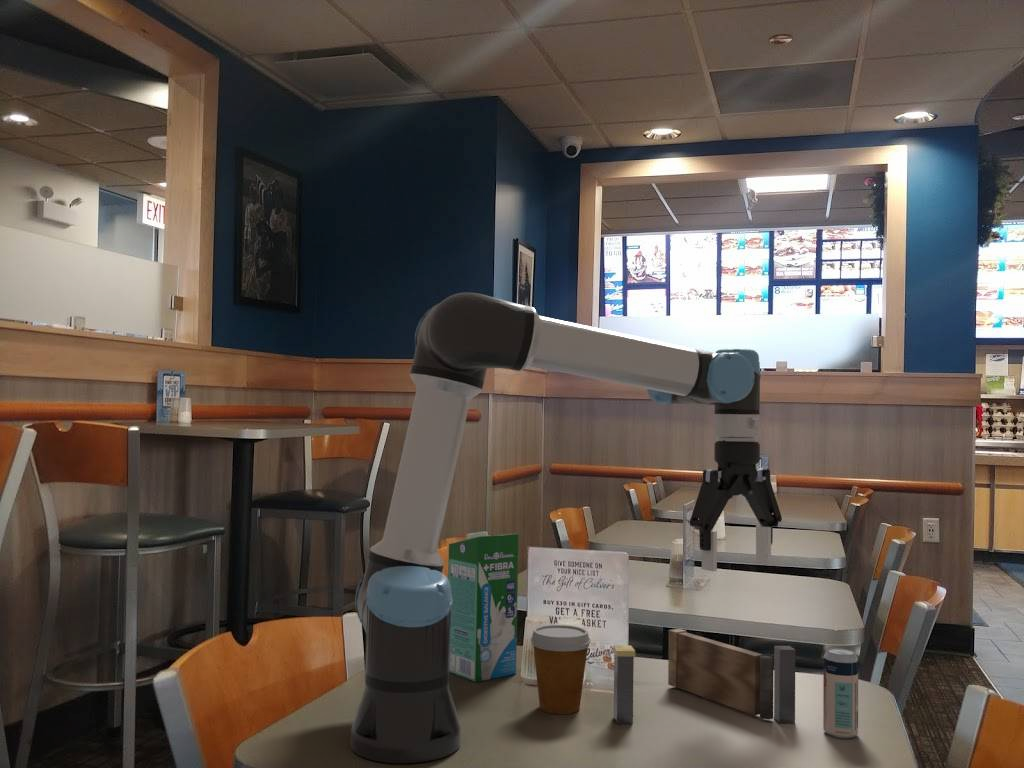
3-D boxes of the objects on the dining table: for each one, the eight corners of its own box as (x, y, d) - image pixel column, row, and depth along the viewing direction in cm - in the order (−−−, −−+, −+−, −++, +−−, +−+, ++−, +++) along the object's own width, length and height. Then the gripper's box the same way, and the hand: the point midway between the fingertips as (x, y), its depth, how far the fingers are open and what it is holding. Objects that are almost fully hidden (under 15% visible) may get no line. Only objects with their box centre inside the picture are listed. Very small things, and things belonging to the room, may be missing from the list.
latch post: (615, 724, 134) (616, 651, 135) (612, 716, 138) (612, 645, 138) (634, 724, 134) (635, 651, 135) (630, 716, 138) (631, 645, 138)
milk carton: (485, 663, 167) (487, 527, 168) (516, 674, 160) (519, 532, 161) (445, 671, 162) (448, 530, 163) (476, 682, 155) (479, 536, 156)
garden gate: (776, 717, 137) (777, 656, 137) (766, 720, 136) (766, 658, 136) (678, 682, 155) (679, 628, 155) (668, 684, 154) (668, 630, 154)
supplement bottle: (842, 727, 135) (842, 646, 135) (865, 737, 130) (865, 654, 131) (816, 730, 133) (816, 648, 134) (838, 741, 129) (839, 656, 129)
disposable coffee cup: (586, 720, 136) (587, 639, 137) (524, 715, 138) (525, 635, 138) (593, 701, 145) (594, 626, 146) (535, 696, 147) (536, 622, 148)
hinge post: (779, 723, 136) (779, 649, 137) (774, 718, 139) (774, 645, 139) (795, 723, 136) (795, 649, 137) (789, 718, 139) (789, 645, 139)
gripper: (700, 440, 144) (700, 576, 143) (802, 440, 157) (803, 564, 156) (668, 439, 150) (667, 569, 149) (769, 439, 163) (769, 558, 162)
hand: (736, 567), depth 152 cm, fingers open, 12 cm apart
